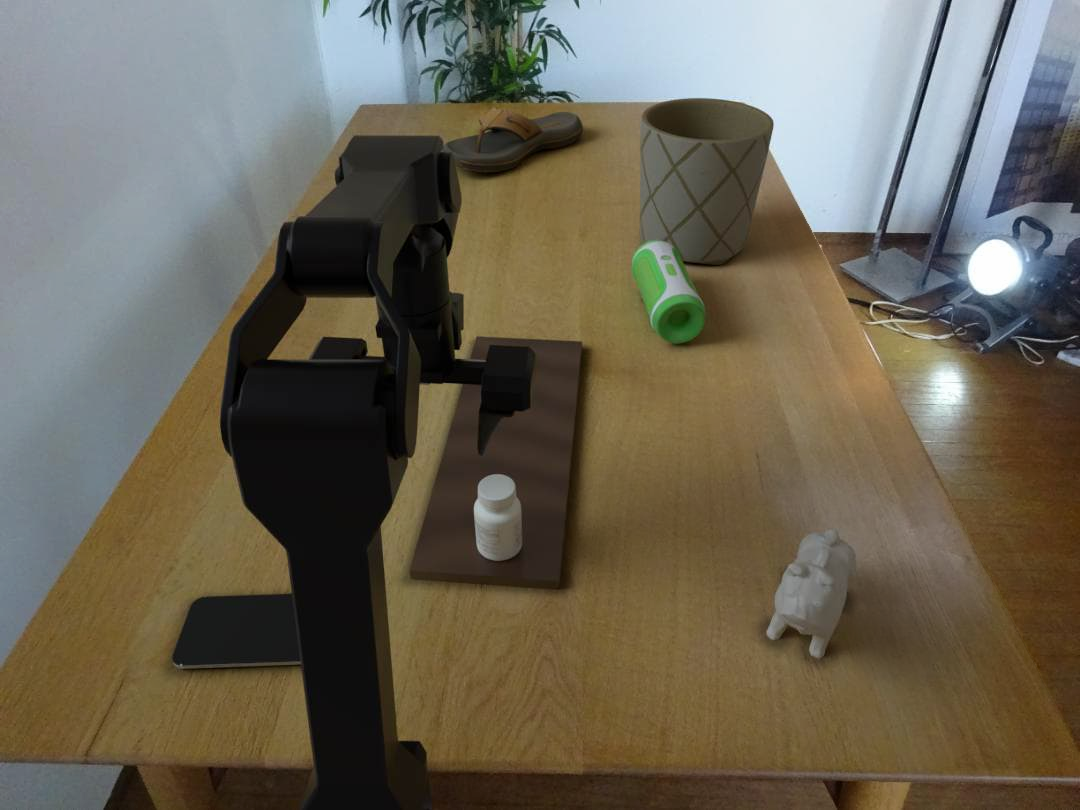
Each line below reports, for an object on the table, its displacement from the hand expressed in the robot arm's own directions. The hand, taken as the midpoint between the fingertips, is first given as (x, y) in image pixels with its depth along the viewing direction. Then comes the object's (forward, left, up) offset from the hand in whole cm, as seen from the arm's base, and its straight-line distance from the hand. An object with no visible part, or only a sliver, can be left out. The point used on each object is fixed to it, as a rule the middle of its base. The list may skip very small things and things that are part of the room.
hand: (430, 449), depth 72 cm
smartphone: (-12, +13, -12) cm, 21 cm away
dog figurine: (-7, -34, -12) cm, 37 cm away
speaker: (+45, -23, -12) cm, 52 cm away
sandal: (+103, +5, -12) cm, 104 cm away
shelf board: (+15, -5, -12) cm, 20 cm away
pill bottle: (-1, -6, -11) cm, 13 cm away
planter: (+67, -28, -12) cm, 74 cm away
